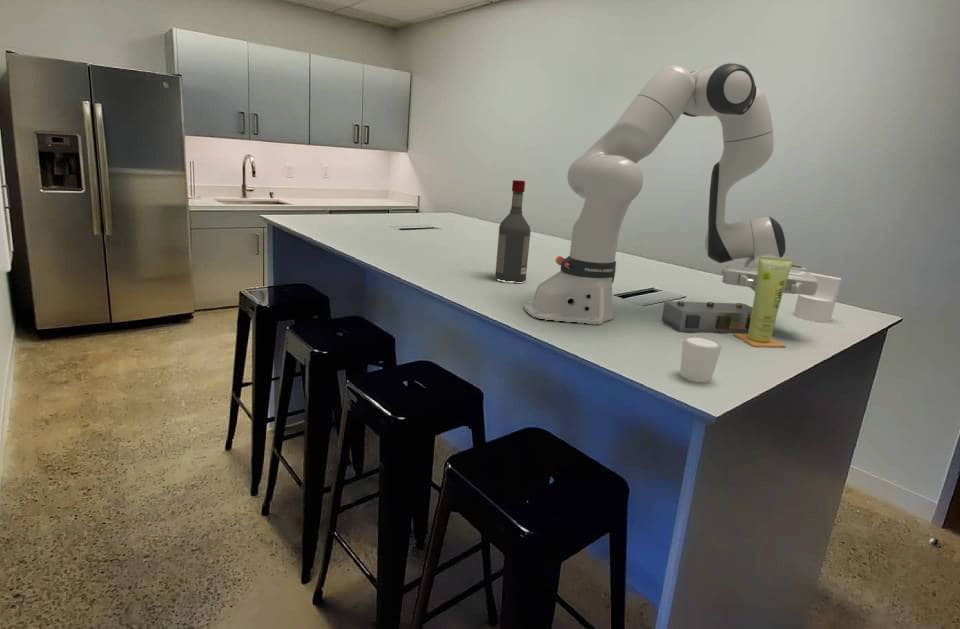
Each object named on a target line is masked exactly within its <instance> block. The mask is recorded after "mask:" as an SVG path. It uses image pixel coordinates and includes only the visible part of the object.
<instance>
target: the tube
mask: <svg viewBox="0 0 960 629" xmlns="http://www.w3.org/2000/svg"><path fill="white" fill-rule="evenodd" d="M794 259H795V258H793V257H791V258H790V257H782V258H778V257H764V256H760V257H759V266H758V275H757V283H756V290H755V291H754V297H753V303H752V314H751V319H750V325H749V330H748V333H747V334H748V336H747V337H748V338H749V339H751V340H754V341H759V342H769V341H770V340H771V338H772V336H773V332H774V328H775V324H776V319H777V317H778V313H779V312H778V311H779V309H780V305H781V301H782V299H783V294H784V293H783V291H784V288H785V284H786V281H787V278H788V275H789V272H790V269H791V266H792V265H793V263H794Z"/></svg>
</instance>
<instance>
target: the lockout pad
mask: <svg viewBox="0 0 960 629" xmlns="http://www.w3.org/2000/svg"><path fill="white" fill-rule="evenodd" d="M733 336H734V337H736V339H737V338H738V339H740V340H741V341H742V342H745V343H746V344H747V345H749V346H751V347H754V348H787V345H785V344H783V343H781V342H780V341H778V340H776V339H774V338H772V337H771V340H770V341H769V342H759V341H754V340H751V339H749V338H748V337H747V336H748V333H733Z"/></svg>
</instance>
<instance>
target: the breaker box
mask: <svg viewBox="0 0 960 629" xmlns="http://www.w3.org/2000/svg"><path fill="white" fill-rule="evenodd" d="M752 308H753V306H750V305H748V304H745V303H740V302H735V303H733V302H732V303H731V302H712V301H708V302H705V301H704V302H703V301H702V302H699V301H697V302H695V301H681V300H679V301H670V300H669V301H668V300H667V301H666V300H665V301H664V304H663V310H662V315H661V321H662V322H663V323H665V324H666V325H668V326H670V327H671V328H673V329H674V330H676V331H677V332H678V333H680V332H683V333H685V332H686V333H720V334H721V333H722V334H723V333H724V334H725V333H726V334H729V333H731V334H748V330H749V325H750V319H751V314H752Z"/></svg>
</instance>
